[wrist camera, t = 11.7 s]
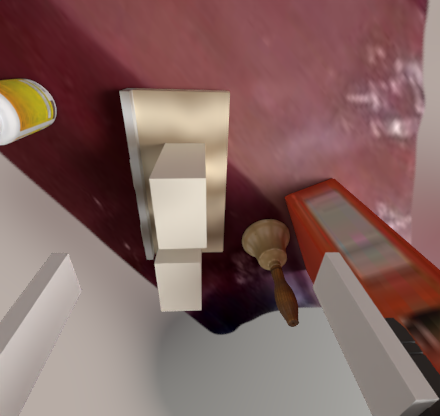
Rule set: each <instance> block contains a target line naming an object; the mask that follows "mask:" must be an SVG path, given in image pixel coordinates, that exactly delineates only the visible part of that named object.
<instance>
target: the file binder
mask: <svg viewBox="0 0 440 416" xmlns="http://www.w3.org/2000/svg"><path fill="white" fill-rule="evenodd" d="M285 200H286V204H287V207H288V210H289V214H290V217H291V220H292V224H293V227H294V230H295V234H296V237H297V240H298V243H299V247H300V250H301V253H302V257H303V260H304V263H305V267H306V270H307V272H308V274H309V276H310V278H311V280H312V282H313V284H314V282H315V280H316V277H317V274H318V271H319V269H320V266H321V263H322V260H323V258H324V255H325V252H339V253H340V254H341V256H342V257H343V259H344V260H345V262H346V263H347V265H348V266H349V268H350V269H351V270H352V272H353V273H354V275H355V276H356V278H357V279H358V281H359V282H360V284H361V285H362V287H363V288H364V289H365V291H366V292H367V294H368V295H369V297H370V298H371V300H372V301H373V303H374V304H375V306H376V307H377V308H378V310H379V311H380V313H381V314H382V316H383V317H384V318H394V319H395V320H397V321H398V322H399V323H400V324H401V325H402V326H403V327H405V328H406V329H407V331H408V332H409V334H410V335H411V336H412V338H413V339H414V340H415V343H416V344H418V346H419V347H420V349H421V350H422V351H423V354H424V355H426V357H427V358H428V359H429V361H430V362H431V363H432V365H433V366H434V368H435V369H436V370H437V372H438V373H439V374H440V270H439V269H438V268H437V267H436V266H435V265H433V264H432V263H431V262H430V261H429V260H428V259H426V258H425V257H424V256H423V255H422V254H421V253H419V252H418V251H417V250H416V249H415V248H414V247H413V246H411V245H410V244H409V243H408V242H407V241H406V240H404V239H403V238H402V237H401V236H400V235H399V234H398V233H396V232H395V231H394V230H393V229H392V228H391V227H389V226H388V225H387V224H386V223H385V222H384V221H383V220H381V219H380V218H379V217H378V216H377V215H376V214H374V213H373V212H372V211H371V210H370V209H369V208H368V207H366V206H365V205H364V204H363V203H362V202H361V201H359V200H358V199H357V198H356V197H355V196H354V195H353V194H351V193H350V192H349V191H348V190H347V189H346V188H344V187H343V186H342V185H341V184H340V183H339V182H338V181H336V180H335V179H329V180H326V181H324V182H321V183H318V184H316V185H313V186H310V187H308V188H305V189H302V190H300V191H297V192H294V193H292V194H289V195H287V196H286V197H285Z"/></svg>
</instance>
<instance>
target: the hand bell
mask: <svg viewBox="0 0 440 416" xmlns="http://www.w3.org/2000/svg"><path fill="white" fill-rule="evenodd" d="M289 239H290V232H289V229H288V228H287V226H286V225H285V224H283V223H282V222H280V221H278V220H274V219H264V220H260V221H257V222H255V223H253V224H252V225H250V226H249V227H248V228H247V229H246V231H245V232H244V234H243V237H242V246H243V248H244V250H245V251H246V252H247V253H248V254H250V255H251V256H254V257H256V258H257V260H258V262H259V264H260V266H261V267H262V268H264V269H266V270H270V271H271V274H272V277H273V280H274V283H275V300H276V304H277V307H278V309H279V311H280V313H281V314H282V316H283V317H284V318H285V320H286V321H287V323H288V325H289V326H291V327H294V326H296V325H298V323H299V322H298V304H297V300H296V297H295V295H294V293H293V291H292V289H291V287H290V286H289V285H288V284H287V282H286V281H285V278H284V275H283V271H282V268H281V267H282V266H283V265H284V264H285V263H286V261H287V254H286V250H285V248H286V247H287V245H288V243H289Z"/></svg>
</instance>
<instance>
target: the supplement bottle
mask: <svg viewBox="0 0 440 416" xmlns="http://www.w3.org/2000/svg"><path fill="white" fill-rule="evenodd" d="M55 118H56V105H55V102H54V100H53V98H52V96H51V95H50V93H49V92H48V91H47V90H46V89H45V88H44V87H43V86H41V85H40V84H38V83H36V82H34V81H32V80H28V79H9V80H0V145H6V144H9V143H11V142H14V141H16V140H18V139H21V138H23V137H25V136H28V135H30V134H32V133H35V132H37V131H39V130H42V129H44V128H46V127H48V126H50V125H51V124H52V123H53V122H54V120H55Z"/></svg>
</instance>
